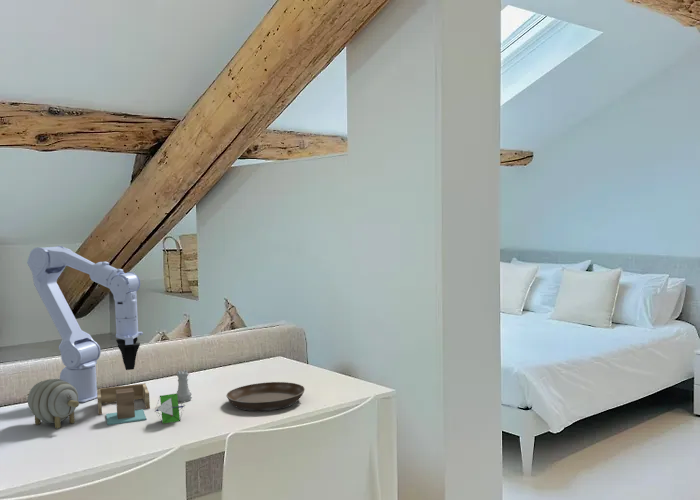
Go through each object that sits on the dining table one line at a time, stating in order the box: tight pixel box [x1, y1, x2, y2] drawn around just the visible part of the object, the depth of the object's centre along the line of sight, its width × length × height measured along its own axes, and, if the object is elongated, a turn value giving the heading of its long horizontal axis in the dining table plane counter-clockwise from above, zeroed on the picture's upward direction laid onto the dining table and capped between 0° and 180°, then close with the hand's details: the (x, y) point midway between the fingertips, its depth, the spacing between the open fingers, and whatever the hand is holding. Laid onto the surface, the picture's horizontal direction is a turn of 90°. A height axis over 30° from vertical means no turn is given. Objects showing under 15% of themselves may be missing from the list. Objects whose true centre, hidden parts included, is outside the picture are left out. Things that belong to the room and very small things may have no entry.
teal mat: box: [105, 408, 147, 426], centre depth 169 cm, size 9×9×1 cm
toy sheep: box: [26, 378, 80, 429], centre depth 165 cm, size 11×17×11 cm, turn 65°
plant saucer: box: [226, 381, 306, 412], centre depth 180 cm, size 21×21×3 cm
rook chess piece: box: [175, 369, 193, 403], centre depth 184 cm, size 4×4×8 cm
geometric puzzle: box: [154, 393, 186, 425], centre depth 165 cm, size 7×7×8 cm
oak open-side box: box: [96, 383, 151, 416], centre depth 180 cm, size 12×13×4 cm
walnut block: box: [115, 388, 136, 419], centre depth 169 cm, size 4×4×6 cm
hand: (128, 366), depth 185 cm, fingers open, 7 cm apart
